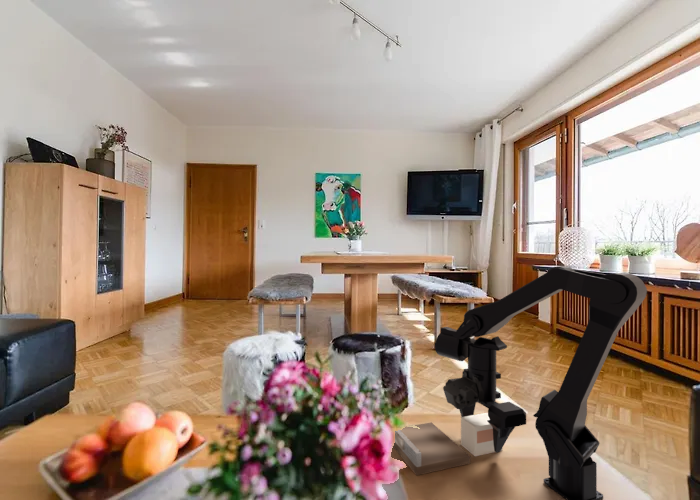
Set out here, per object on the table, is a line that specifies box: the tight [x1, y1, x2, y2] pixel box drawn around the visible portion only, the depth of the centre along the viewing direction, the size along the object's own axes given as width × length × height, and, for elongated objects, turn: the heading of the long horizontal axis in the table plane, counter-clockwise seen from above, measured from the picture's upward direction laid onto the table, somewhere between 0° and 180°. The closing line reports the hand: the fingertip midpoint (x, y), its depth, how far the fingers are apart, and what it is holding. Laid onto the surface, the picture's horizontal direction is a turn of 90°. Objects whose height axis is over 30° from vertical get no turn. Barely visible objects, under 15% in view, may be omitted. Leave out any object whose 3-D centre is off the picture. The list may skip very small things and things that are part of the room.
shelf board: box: [392, 421, 471, 476], centre depth 71 cm, size 14×12×4 cm
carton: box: [460, 412, 503, 457], centre depth 73 cm, size 5×7×6 cm, turn 109°
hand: (481, 439), depth 72 cm, fingers open, 9 cm apart
